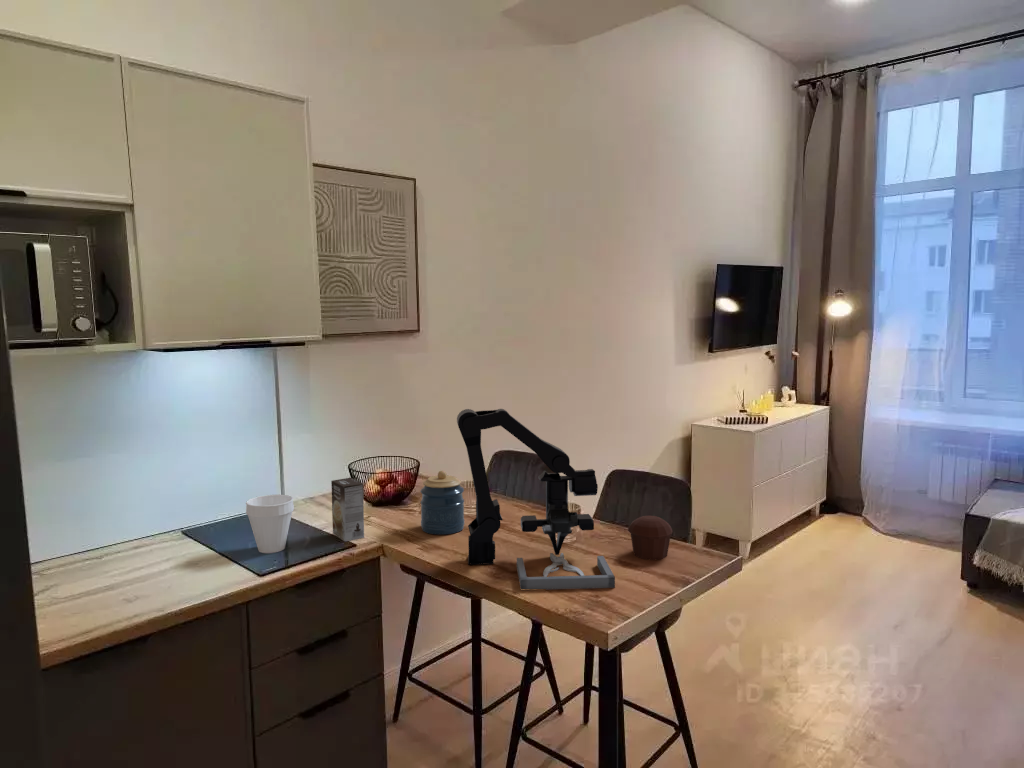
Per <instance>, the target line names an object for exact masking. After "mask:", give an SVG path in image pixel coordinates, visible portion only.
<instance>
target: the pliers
mask: <svg viewBox="0 0 1024 768" xmlns="http://www.w3.org/2000/svg"><path fill="white" fill-rule="evenodd" d="M549 558H550V560H551V562H552V564H551V565H550V564H549V565H548V566H547V567H545V568H544V570H543V573H542V577H547V576H548V575H549V574H551V573H554V571H555V572H557V571H558V570H559V569H560V567H559V566H563V567H562V570H564V571H567V572H571V573H576V572H577V573H578V574H577V573H576V574H577V575H578V576H585V574H584V572H583V571H582V570H581V569H580V568H579V567H577V566H575V565H572V564H569V562H568V561H567V559H566V558H565V555H564V553H563V552H560V553H559V556H558V555H555V553H553V552H550V553H549ZM562 564H563V565H562ZM557 566H558V567H557ZM554 568H555V569H554ZM552 569H553V570H552ZM550 572H551V573H550ZM548 577H549V576H548Z"/></svg>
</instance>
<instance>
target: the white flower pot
mask: <svg viewBox="0 0 1024 768" xmlns="http://www.w3.org/2000/svg"><path fill="white" fill-rule="evenodd" d="M245 505H246V506H245V507H246V509H245V510H246V511H245V514H246V515H247V517H248V520H249V522H250V523H249V524H250V527H251V529H252V533H253V537H254V540H255V544H256V546H257V550H258V552H259V553H262V554H274V553H279V552H281V551H283V550H285V549H286V543H287V539H288V533H289V528H290V524H291V519H292V514H293V511H294V510H295V507H294V497H292V495H291V496H290V495H288V494H266V495H259V496H256V497H251V498H249V499H248V500H247V501H246V502H245Z"/></svg>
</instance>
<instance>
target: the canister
mask: <svg viewBox="0 0 1024 768" xmlns="http://www.w3.org/2000/svg"><path fill="white" fill-rule="evenodd" d="M461 484H462V481H461V480H460V479H459V478H457V477H456V476H454V475H447V472H446V471H445V470H440V471H438V473H437V475H432V476H430V477H428V478H427V479H425V480H424V481H423V482H422V485H423V487H422V488H421V489H420V491H419V492H420V493H421V494H422V495H421V496H422V497H421V500H420V504H421V505H420V507H421V508H420V511H421V514H420V515H421V517H420V526H421V530H422V531H423V532H425V533H426V534H431V535H440V536H441V535H451V534H455V533H460V532H461V531H463V529H464V528H465V527H464V525H465V513H464V510H465V508H464V507H465V506H464V505H465V499H464V498H463V497H464V496H463V493H464V491H465V489H464V487H462V486H461Z"/></svg>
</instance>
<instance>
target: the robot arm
mask: <svg viewBox="0 0 1024 768" xmlns="http://www.w3.org/2000/svg"><path fill="white" fill-rule="evenodd" d="M456 425H457V427H458V429H459V432H460V434H461V437H462V439H463V442H464V444H465V447H466V452H467V456H468V457H467V458H468V462H469V466H470V467H469V468H470V472H471V477H472V482H473V486H474V492H475V518H474V519H473V520H471V522H470V523H469V524H468V525H467V527H468V531H469V535H468V556H467V564H468V565H470V566H471V565H494V560H495V559H496V541H495V540H494V539H493V538H494V535H495V533H497V532H498V531H499V529H500V528H501V521H503V520H504V519H503V517H502V515H501V507H500V506H501V505H500V504H499V501H498V499H497V498H495V499H492V496H491V491H490V487H489V481H488V475H487V472H486V465H485V461H484V456H483V450H482V445H481V443H482V431H483V430H487V429H491V428H496V427H502V428H503V429H504V430H506V431H507V432H508V433H509V434H511V435H512V436H513V437H515V438H516V439H517V440H519V441H520V442H521V443H522V444H524V445H525V446H526V447H527V448H529V449H530V450H531V451H533V452H534V453H535V454H536V455H537V456H538V458H539V459H541V461H542V462H543V463H544V464H545V466H547V468H548V469H549V470H550V472H547V471H546V470H543V471H542V472H541V474H540V475H538V477H537V478H538V479H539V480H540V482H541V483H542V482H545V518H544V519H543V518H537V516H536V515H532V514H530V515H522V516H521V517H520V528H521V531H522V532H523V533H534V532H536V531H537V530H538V528H540V527H541V529H542V532H543V534H544V535H548V537H549V539H550V542H551V545H552V548H553V552H554V555H555V556H560V554H561V550H562V547H563V543H564V541H565V539H566V537H567V536H568V535H569V534H572V533H573V530H572V528H575V527H579V529H580V530H581V531H593V530H595V523H594V522H595V521H594V519H593V518H592V516H591V515H590V514H589V513H579V514H578V512H577V511H575V512H573V511H572V512H571V511H569V501H568V500H569V492H570V493H572V494H573V496H574V497H585V496H597V495H598V489H599V487H598V481H597V477H596V471H595V470H594V469H593V468H588V469H582V470H580V469H579V470H576V469H574V468H573V467H572V465H570V463H571V461H570V457H569V455H568V454H567V453H566V452H565V451H564V450H563V449H561V448H559V447H558V446H556V445H555V444H553V443H550V442H548V441H546V440H544V439H542V438H541V437H539V436H538V435H536V433H534V432H533V431H532V430H530V429H529V428H527V426H525V425H524V424H522V423H521V422H520V421H518V419H516V418H514V417H513V416H512V415H511V414H510V413H509V412H508V411H507V410H506V409H503V408H498V409H494V410H493V409H491V410H476V411H475V410H474V409H471V408H470V409H469V408H466V409H462V410H461V411H460V412H459V413H458V415H457V416H456ZM551 471H552V472H551ZM561 474H563V475H561ZM556 534H557V538H556Z"/></svg>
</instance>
